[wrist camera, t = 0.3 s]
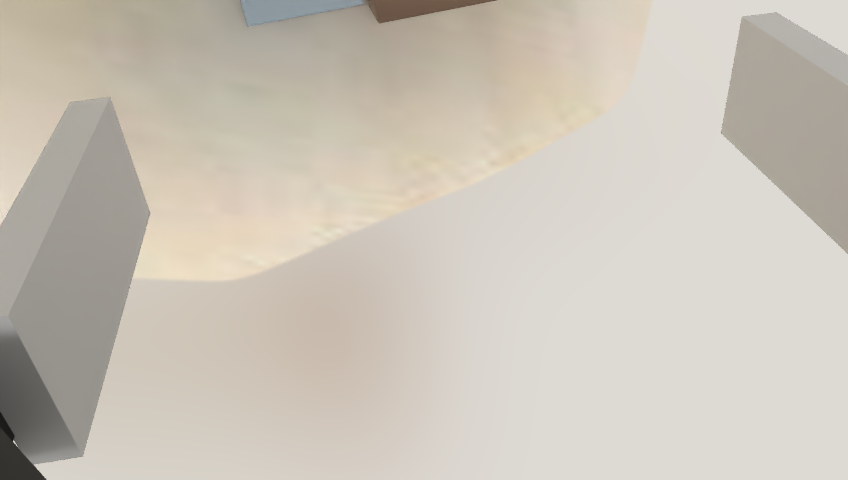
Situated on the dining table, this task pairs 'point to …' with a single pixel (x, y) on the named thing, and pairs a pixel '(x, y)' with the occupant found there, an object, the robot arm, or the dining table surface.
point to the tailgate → (289, 9)
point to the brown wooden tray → (414, 7)
